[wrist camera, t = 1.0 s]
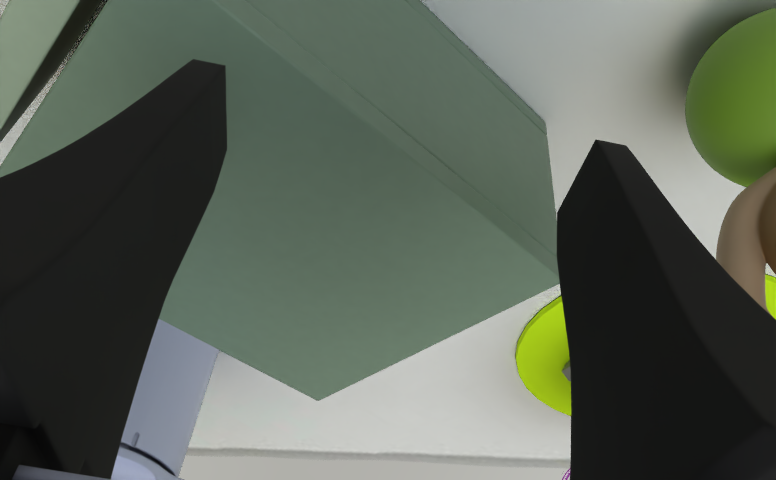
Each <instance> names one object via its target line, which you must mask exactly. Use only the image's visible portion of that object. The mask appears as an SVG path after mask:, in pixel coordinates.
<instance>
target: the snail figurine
mask: <svg viewBox="0 0 776 480" xmlns="http://www.w3.org/2000/svg"><path fill="white" fill-rule="evenodd" d="M685 115H686V123H687V128H688V131H689V134H690V137H691V140H692V142H693V144H694V146H695V148H696V149H697V151H698V152H699V154H700V155H701V157H702V158H703V159H704V160H705V161H706V162H707V163H708V165H709V166H711V167H712V168H713V169H714V170H715V171H716V172H718V173H719V174H721V175H722V176H724V177H725V178H727V179H729V180H730V181H732V182H734V183H737V184H739V185H742V186H745V187H747V188H745V189H744V190H743V191H742V192H741V193H740V194H739V195H738V196H737V197H736V198H735V200H734V201H733V202H732V204H731V205H730V207H729V209H728V211H727V213H726V215H725V217H724V220H723V223H722V226H721V230H720V234H719V238H718V243H717V252H716V261H717V262H718V263H719V264H720V265H721V266H722V267H723V269H724V270H725V271H726V272H727V273H728V274H729V275H730V276H731V277H732V278H733V279H734V280H735V281H736V282H737V283H738V284H739V285H740V286H741V287H742V288H743V289H744V290H745V291H746V292H747V293H748V294H749V295H750V296H751V297H752V298H753V299H754V300H755V301H756V302H757V303H758V304H759V305H760V306H761V307H762V308H764V309H765V310H766V311H767V312H768V313H769V314H770V312H769V311H768V309H767V306H766V295H765V266H766V263H768V265H769V266H770V268H771V269H772V270H773V272H774V273H775V274H776V8H773V9H769V10H766V11H763V12H760V13H758V14H755V15H753V16H751V17H749V18H747V19H745V20H743V21H741V22H740V23H738V24H736V25H735V26H733V27H732V28H730V29H729V30H728V31H726V32H725V33H724V34H723V35H721V36H720V37H719V38H718V39H717V40H716V41H715V42H714V43H713V44H712V45H711V46H710V48H709V49H708V50H707V51H706V52H705V54H704V55H703V57H702V58H701V60H700V61H699V63H698V65H697V66H696V68H695V70H694V72H693V75H692V77H691V80H690V83H689V86H688V90H687V94H686V103H685ZM770 315H771V314H770ZM771 316H772V315H771ZM772 317H773V316H772ZM773 318H774V317H773Z"/></svg>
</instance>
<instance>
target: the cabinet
mask: <svg viewBox="0 0 776 480" xmlns="http://www.w3.org/2000/svg"><path fill="white" fill-rule="evenodd" d="M193 59H196V60H201V61H206V62H211V63H216V64H221V65H226V112H227V151H226V155H225V158H224V162H223V165H222V168H221V172H220V175H219V178H218V181H217V184H216V187H215V191H214V193H213V195H212V198H211V200H210V202H209V204H208V206H207V209H206V211H205V213H204V215H203V217H202V219H201V222H200V224H199V226H198V228H197V230H196V232H195V234H194V237H193V239H192V241H191V243H190V245H189V247H188V249H187V251H186V254H185V256H184V258H183V260H182V262H181V264H180V266H179V268H178V271H177V273H176V275H175V277H174V279H173V282H172V284H171V286H170V289H169V291H168V294H167V296H166V299H165V301H164V304H163V307H162V310H161V313H160V316H159V319H160V320H162V321H164V322H166V323H168V324H170V325H172V326H174V327H176V328H178V329H180V330H182V331H183V332H185V333H187V334H189V335H191V336H193V337H195V338H197V339H199V340H201V341H203V342H205V343H207V344H209V345H211V346H213V347H214V348H216V349H218V350H220V351H222V352H224V353H226V354H228V355H230V356H232V357H234V358H236V359H238V360H240V361H242V362H244V363H245V364H247V365H249V366H251V367H253V368H255V369H257V370H259V371H261V372H263V373H265V374H267V375H269V376H271V377H273V378H275V379H277V380H278V381H280V382H282V383H284V384H286V385H288V386H290V387H292V388H294V389H296V390H298V391H300V392H302V393H304V394H306V395H308V396H309V397H311V398H313V399H315V400H318V401H319V400H321V399H323V398H325V397H327V396H329V395H331V394H333V393H336V392H338V391H340V390H342V389H344V388H346V387H348V386H350V385H352V384H354V383H356V382H358V381H360V380H362V379H364V378H366V377H368V376H370V375H373V374H375V373H377V372H379V371H381V370H383V369H385V368H387V367H389V366H391V365H393V364H395V363H397V362H399V361H401V360H403V359H405V358H407V357H410V356H412V355H414V354H416V353H418V352H420V351H422V350H424V349H426V348H428V347H430V346H432V345H434V344H436V343H438V342H440V341H442V340H444V339H446V338H449V337H451V336H453V335H455V334H457V333H459V332H461V331H463V330H465V329H467V328H469V327H471V326H473V325H475V324H477V323H479V322H481V321H483V320H486V319H488V318H490V317H492V316H494V315H496V314H498V313H500V312H502V311H504V310H506V309H508V308H510V307H512V306H514V305H516V304H518V303H520V302H522V301H525V300H527V299H529V298H531V297H533V296H535V295H537V294H539V293H541V292H543V291H545V290H547V289H549V288H551V287H553V286H555V285H557V284H559V283H560V280H559V272H558V264H557V220H556V211H555V202H554V193H553V185H552V176H551V167H550V158H549V149H548V141H547V136H546V135H547V132H546V124H545V122H544V121H543V120H542V119H541V118H540V117H539V116H538V115H537V114H536V113H535V112H534V111H533V110H532V109H531V108H530V107H529V106H528V105H527V104H525V103H524V102H523V101H522V100H521V99H520V98H519V97H518V96H517V95H516V94H515V93H514V92H513V91H512V90H511V89H510V88H509V87H508V86H507V85H506V84H505V83H504V82H503V81H502V80H501V79H500V78H499V77H498V76H497V75H496V74H495V73H494V72H493V71H492V70H490V69H489V68H488V67H487V66H486V65H485V64H484V63H483V62H482V61H481V60H480V59H479V58H478V57H477V56H476V55H475V54H474V53H473V52H472V51H471V50H470V49H469V48H468V47H467V46H466V45H465V44H464V43H463V42H462V41H461V40H460V39H459V38H458V37H456V36H455V35H454V34H453V33H452V32H451V31H450V30H449V29H448V28H447V27H446V26H445V25H444V24H443V23H442V22H441V21H440V20H439V19H438V18H437V17H436V16H435V15H434V14H433V13H432V12H431V11H430V10H429V9H428V8H427V7H426V6H425V5H424V4H423V3H421V2H420V1H419V0H108V1H107V3H106V4H105V6H104V7H103V9H102V10H101V12H100V13H99V15H98V16H97V18H96V20H95V21H94V23H93V24H92V26H91V27H90V29H89V30H88V32H87V33H86V35H85V37H84V38H83V40H82V41H81V43H80V44H79V46H78V47H77V49H76V50H75V52H74V53H73V55H72V57H71V58H70V60H69V61H68V63H67V64H66V66H65V67H64V69H63V70H62V72H61V73H60V75H59V77H58V78H57V80H56V81H55V83H54V84H53V86H52V87H51V89H50V90H49V92H48V94H47V95H46V97H45V98H44V100H43V101H42V103H41V104H40V106H39V107H38V109H37V110H36V112H35V114H34V115H33V117H32V118H31V120H30V121H29V123H28V124H27V126H26V127H25V129H24V131H23V132H22V134H21V135H20V137H19V138H18V140H17V141H16V143H15V144H14V146H13V147H12V149H11V151H10V152H9V154H8V155H7V157H6V158H5V160H4V161H3V163H2V164H1V166H0V177H3V176H5V175H7V174H10V173H12V172H15V171H17V170H19V169H22V168H24V167H26V166H28V165H30V164H33V163H35V162H37V161H39V160H41V159H43V158H45V157H47V156H49V155H51V154H53V153H55V152H57V151H58V150H60V149H62V148H64V147H66V146H68V145H69V144H71V143H73V142H75V141H76V140H78V139H80V138H82V137H83V136H85V135H86V134H88V133H90V132H91V131H93V130H94V129H96V128H97V127H99V126H101V125H102V124H104V123H105V122H107V121H108V120H110V119H112V118H113V117H115V116H116V115H118V114H119V113H120V112H122V111H123V110H125V109H126V108H127V107H129V106H130V105H132V104H133V103H134V102H136V101H137V100H139V99H140V98H141V97H143V96H144V95H146V94H147V93H148V92H150V91H151V90H152V89H154V88H155V87H156V86H158V85H159V84H160V83H161V82H163V81H164V80H165V79H167V78H168V77H169V76H171V75H172V74H173V73H175V72H176V71H177V70H179V69H180V68H181V67H183V66H184V65H185V64H187V63H188V62H190V61H191V60H193Z"/></svg>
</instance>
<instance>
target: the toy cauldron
mask: <svg viewBox="0 0 776 480" xmlns="http://www.w3.org/2000/svg"><path fill="white" fill-rule="evenodd" d="M765 295H766V306H767V309H768V311H769V312H770V314H771V315H772V316H773V317H774V318H775V319H776V278H775V277H772V276H769V275H766V274H765ZM515 358H516V363H517V368H518V373H519V376H520V378H521V379H522V381H523V383H524V384H525V386H526V388H527V389H528V390H529V391H530V392H531V393H532V394H533V395H534V396H535V397H536V398H537V399H539V400H540V401H542V402H543V403H545V404H547V405H548V406H550V407H551V408H553V409H555V410H557V411H560V412H562V413H564V414H567V415H569V416H571V370H570V358H569V348H568V340H567V333H566V326H565V318H564V311H563V303H562V296H560V297H558V298H557V299H556V300H554V301H553V302H551V303H550V304H549V305H547V306H546V307H544V308H543V309H542V310H540V311H539V312H538V313H537V315H536V316H535V317H534V318H533V319H532V320H531V321H530V322H529V323H528V324H527V325H526V327H525V329H524V331H523V332H522V334H521V336H520V338H519V340H518V343H517V349H516V355H515ZM569 470H570V469H569ZM569 470H568V471H569ZM568 471H567V472H568ZM567 472H566V473H567ZM566 473H565V475H566ZM565 475H564V477H565ZM569 476H570V473H568V476H567V478H565V479H566V480H567V479H568V477H569ZM564 477H563V478H562V480H563V479H564Z"/></svg>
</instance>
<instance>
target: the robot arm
mask: <svg viewBox="0 0 776 480" xmlns="http://www.w3.org/2000/svg"><path fill="white" fill-rule="evenodd" d="M226 151H227V112H226V65H221V64H216V63H211V62H206V61H201V60H196V59H193V60H191V61H190V62H188V63H187V64H185V65H184V66H183V67H181V68H180V69H179V70H177V71H176V72H175V73H173V74H172V75H171V76H169V77H168V78H167V79H165V80H164V81H163V82H161V83H160V84H159V85H158V86H156V87H155V88H154V89H152V90H151V91H150V92H148V93H147V94H146V95H144V96H143V97H141V98H140V99H139V100H137V101H136V102H134V103H133V104H132V105H130V106H129V107H127V108H126V109H125V110H123V111H122V112H120V113H119V114H118V115H116V116H115V117H113V118H112V119H110V120H108V121H107V122H105V123H104V124H102V125H101V126H99V127H97V128H96V129H94V130H93V131H91V132H90V133H88V134H86V135H85V136H83V137H82V138H80V139H78V140H76V141H75V142H73V143H71V144H69V145H68V146H66V147H64V148H62V149H60V150H58V151H57V152H55V153H53V154H51V155H49V156H47V157H45V158H43V159H41V160H39V161H37V162H35V163H33V164H30V165H28V166H26V167H24V168H22V169H19V170H17V171H15V172H12V173H10V174H7V175H5V176H3V177H0V480H184V479H181V478H178V476H179V473H180V470H181V467H182V464H183V461H184V458H185V455H186V451H187V448H188V445H189V442H190V439H191V436H192V433H193V430H194V426H195V423H196V420H197V417H198V414H199V411H200V408H201V405H202V401H203V398H204V395H205V392H206V389H207V386H208V383H209V380H210V376H211V373H212V370H213V367H214V364H215V361H216V358H217V355H218V352H219V351H220V350H218V349H216V348H214V347H213V346H211V345H209V344H207V343H205V342H203V341H201V340H199V339H197V338H195V337H193V336H191V335H189V334H187V333H185V332H183V331H182V330H180V329H178V328H176V327H174V326H172V325H170V324H168V323H166V322H164V321H162V320H160V319H159V316H160V313H161V310H162V307H163V304H164V301H165V299H166V296H167V294H168V291H169V289H170V286H171V284H172V282H173V279H174V277H175V275H176V273H177V271H178V268H179V266H180V264H181V262H182V260H183V258H184V256H185V254H186V251H187V249H188V247H189V245H190V243H191V241H192V239H193V237H194V234H195V232H196V230H197V228H198V226H199V224H200V222H201V219H202V217H203V215H204V213H205V211H206V209H207V206H208V204H209V202H210V200H211V198H212V195H213V193H214V191H215V187H216V184H217V181H218V178H219V175H220V172H221V168H222V165H223V162H224V158H225V155H226ZM557 264H558V272H559V280H560V288H561V296H562V303H563V311H564V318H565V326H566V333H567V340H568V348H569V358H570V370H571V467H570V480H776V319H775V318H773V317H772V316H771V315H770V314H769V313H768V312H767V311H766V310H765V309H764V308H762V307H761V306H760V305H759V304H758V303H757V302H756V301H755V300H754V299H753V298H752V297H751V296H750V295H749V294H748V293H747V292H746V291H745V290H744V289H743V288H742V287H741V286H740V285H739V284H738V283H737V282H736V281H735V280H734V279H733V278H732V277H731V276H730V275H729V274H728V273H727V272H726V271H725V270H724V269H723V267H722V266H721V265H720V264H719V263H718V262H717V261H716V260H715V258H714V257H713V256H712V255H711V254H710V253H709V252H708V250H707V249H706V248H705V247H704V246H703V245H702V243H701V242H700V241H699V240H698V239H697V237H696V236H695V235H694V234H693V233H692V231H691V230H690V229H689V228H688V226H687V225H686V224H685V223H684V221H683V220H682V219H681V218H680V216H679V215H678V214H677V212H676V211H675V210H674V208H673V207H672V206H671V204H670V203H669V202H668V200H667V199H666V198H665V196H664V195H663V194H662V192H661V191H660V190H659V188H658V187H657V186H656V184H655V183H654V182H653V180H652V179H651V177H650V176H649V175H648V173H647V172H646V171H645V169H644V168H643V167H642V165H641V164H640V163H639V161H638V160H637V159H636V157H635V156H634V155H633V153H632V152H631V151H630V150H629V149H628V147H627V146H625V145H620V144H615V143H610V142H605V141H600V140H595V142H594V144H593V146H592V148H591V150H590V151H589V153H588V155H587V157H586V159H585V161H584V163H583V165H582V167H581V169H580V170H579V172H578V174H577V176H576V178H575V180H574V182H573V184H572V186H571V188H570V189H569V191H568V193H567V195H566V197H565V199H564V201H563V203H562V205H561V207H560V209H559V210H558V212H557Z"/></svg>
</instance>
